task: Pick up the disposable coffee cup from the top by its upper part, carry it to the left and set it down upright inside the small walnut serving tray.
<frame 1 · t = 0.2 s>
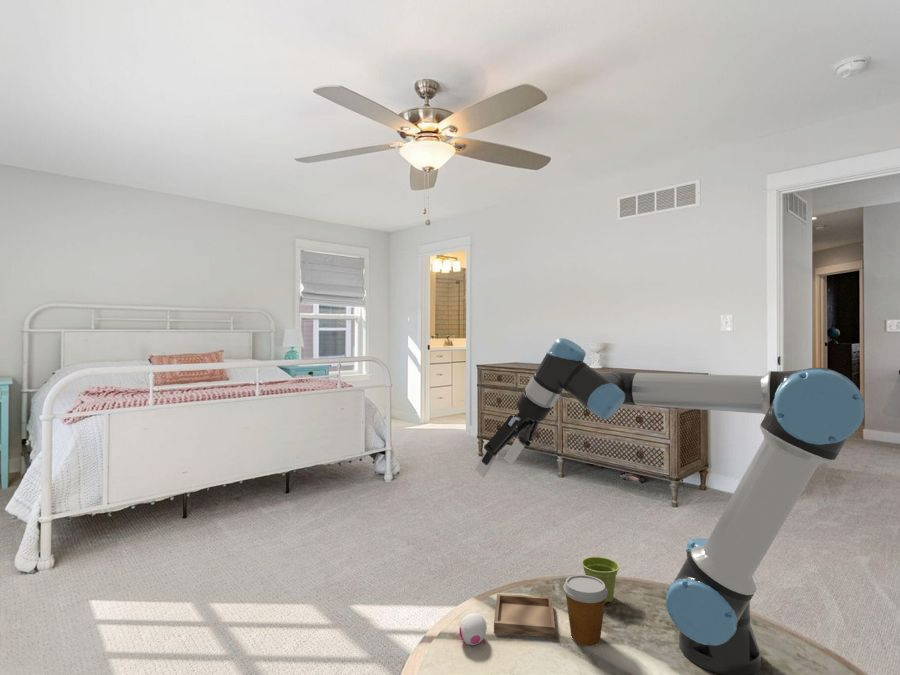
hand: (494, 467, 124), 35 cm above the table, fingers open, 13 cm apart
tray: (524, 618, 119), on the table
disposable coffee cup: (585, 638, 111), on the table
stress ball: (470, 642, 110), on the table
plant pot: (600, 598, 129), on the table
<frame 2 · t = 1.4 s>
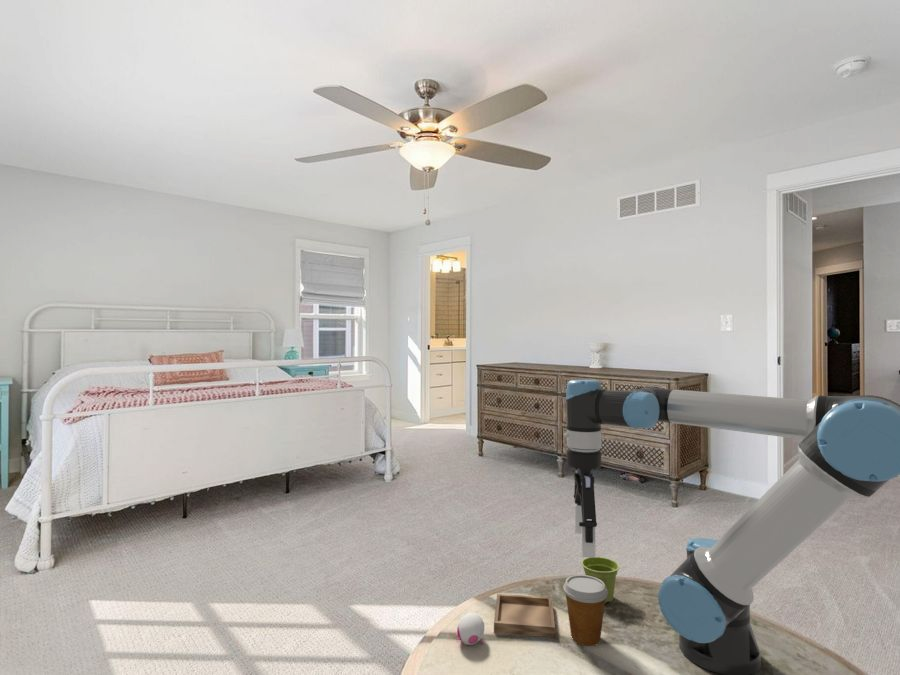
hand: (584, 544, 112), 21 cm above the table, fingers open, 13 cm apart
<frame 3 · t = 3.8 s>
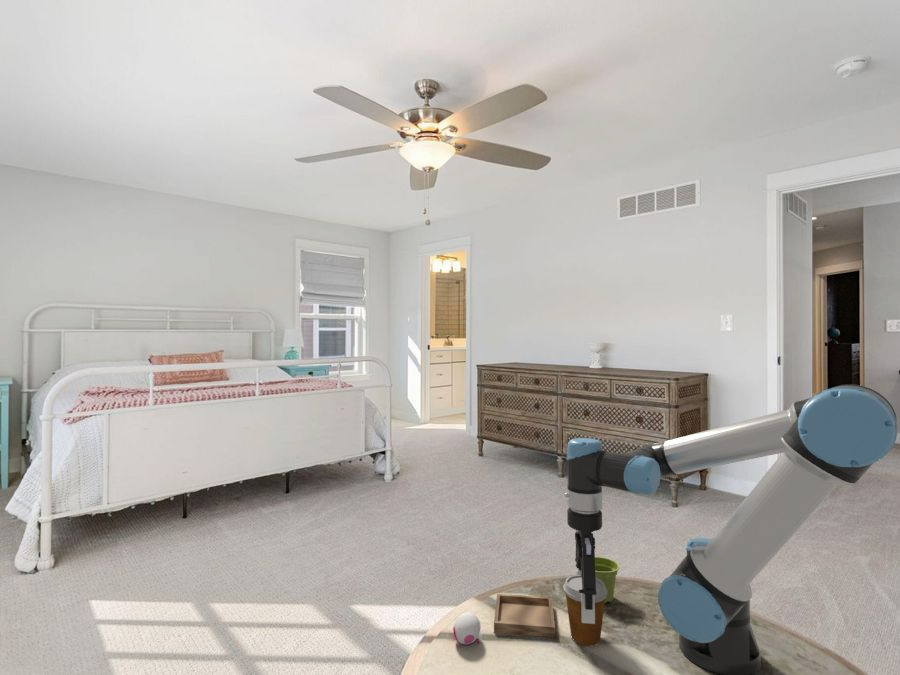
hand: (585, 610, 111), 6 cm above the table, fingers closed on disposable coffee cup, 9 cm apart
disposable coffee cup: (585, 638, 111), on the table, touching gripper
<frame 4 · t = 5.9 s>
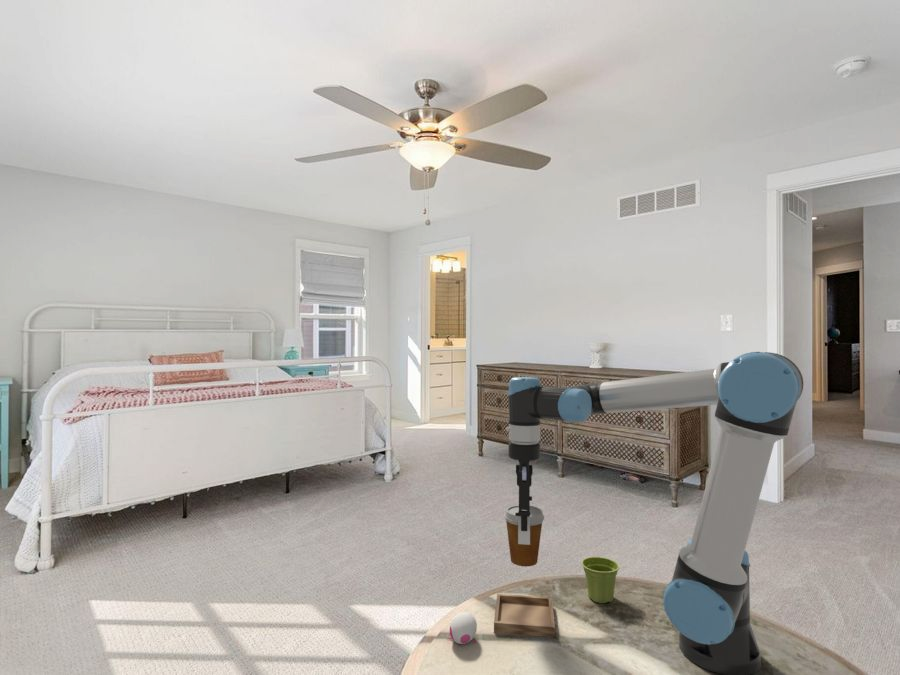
hand: (524, 535, 119), 20 cm above the table, fingers closed on disposable coffee cup, 9 cm apart
disposable coffee cup: (524, 561, 119), point 13 cm above the table, touching gripper
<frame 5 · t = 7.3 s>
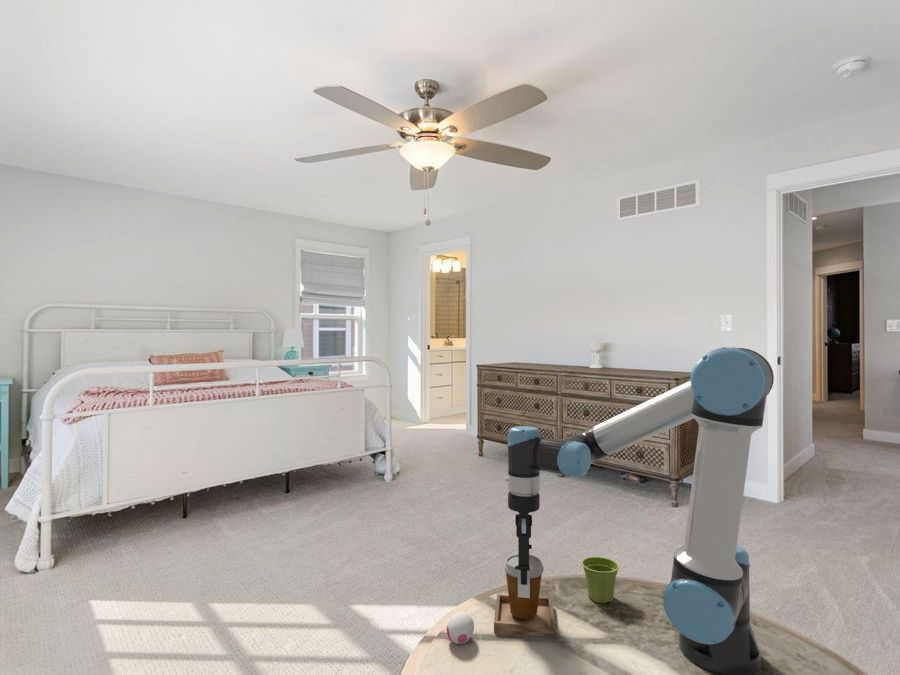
hand: (523, 586, 119), 8 cm above the table, fingers closed on disposable coffee cup, 9 cm apart
disposable coffee cup: (523, 612, 119), point 1 cm above the table, touching gripper
when the fingers open (7 cm above the table, at t = 8.3 s): disposable coffee cup stays where it is, resting on tray.
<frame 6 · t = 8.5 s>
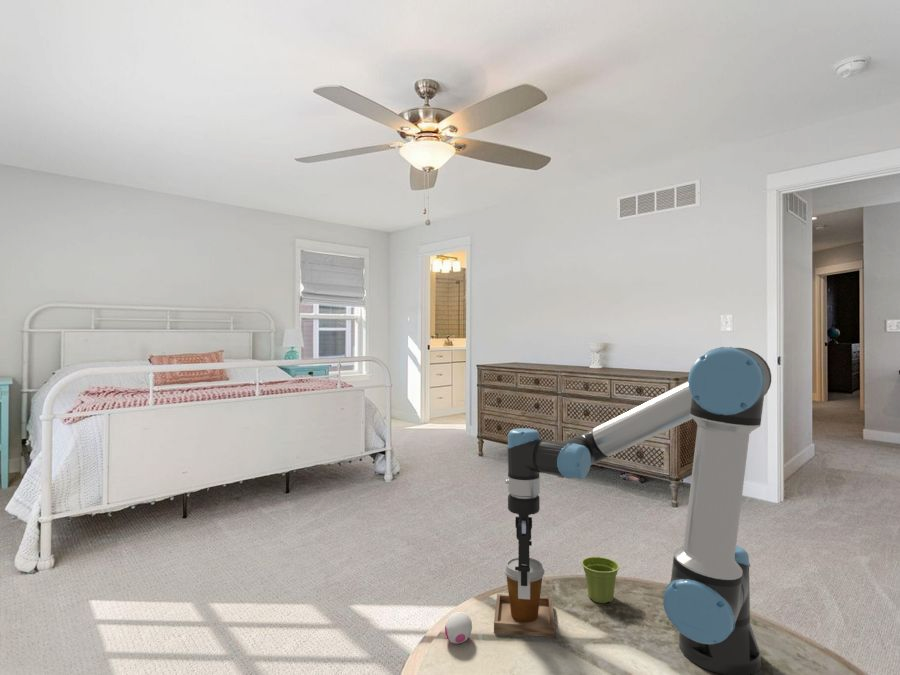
hand: (524, 585, 119), 8 cm above the table, fingers open, 12 cm apart
disposable coffee cup: (524, 616, 119), point 1 cm above the table, touching tray
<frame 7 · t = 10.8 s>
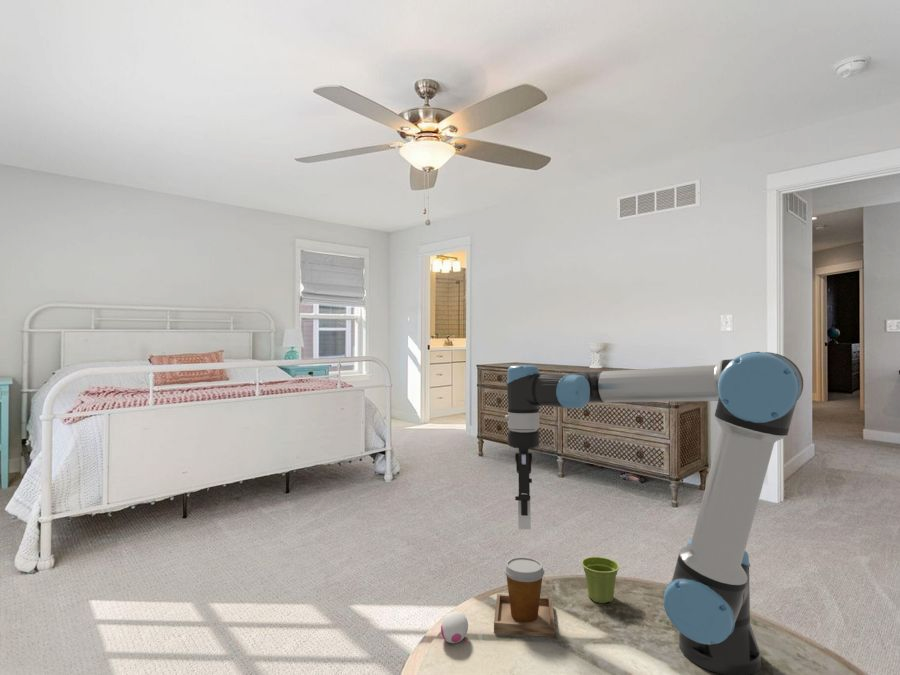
hand: (524, 518, 119), 24 cm above the table, fingers open, 13 cm apart
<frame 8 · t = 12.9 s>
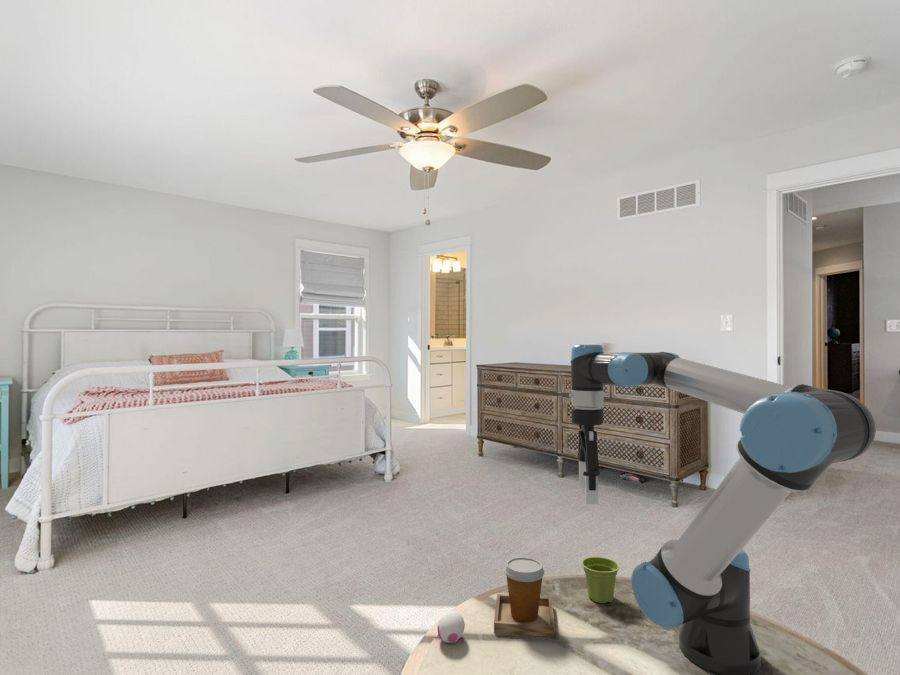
hand: (588, 495, 121), 29 cm above the table, fingers open, 13 cm apart
at the end: disposable coffee cup inside the target area on the tray (0.1 cm from its centre), point 0.6 cm above the tray's base; disposable coffee cup tilted 0°; the gripper is holding nothing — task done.
